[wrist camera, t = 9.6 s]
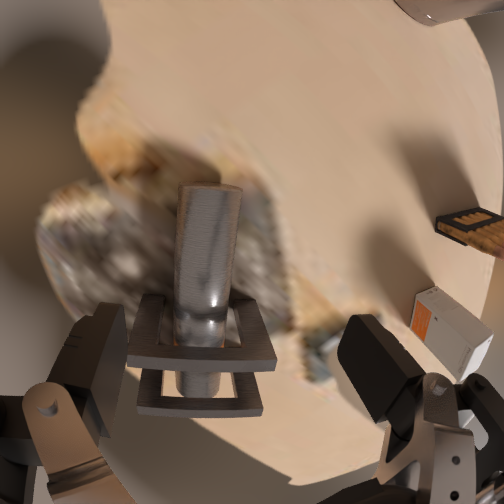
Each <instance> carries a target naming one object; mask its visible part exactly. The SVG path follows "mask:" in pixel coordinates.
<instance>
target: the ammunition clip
mask: <svg viewBox="0 0 504 504" xmlns="http://www.w3.org/2000/svg"><path fill="white" fill-rule="evenodd" d="M435 232H437V233H439V234H441V235H443V236H445V237H447V238H449V239H451V240H454V241H456V242H458V243H460V244H462V245H464V246H467V245H469V246H471V247H473V248H475V249H477V250H479V251H481V252H483V253H486V254H489V255H492V256H494V257H496V258H498V259H500V260H502V261H504V217H502V216H500V215H498V214H495V213H493V212H490V211H488V210H485V209H483V208H480V207H478V208H474V209H470V210H466V211H461V212H457V213H453V214H449V215H444V216H440V217H436V230H435Z"/></svg>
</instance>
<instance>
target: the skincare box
mask: <svg viewBox="0 0 504 504" xmlns="http://www.w3.org/2000/svg"><path fill="white" fill-rule="evenodd" d="M409 329H410V330H411V331H412V332H413V333H414V334H415V335H416V336H417V337H418V338H419V339H420V340H421V341H422V342H423V344H424V345H425V346H426V347H427V348H428V349H429V350H430V351H431V352H432V353H433V354H434V355H435V356H436V357H437V359H438V360H439V361H440V362H441V363H442V364H443V365H444V366H445V367H446V368H447V370H448V371H449V372H450V373H451V374H452V375H453V376H454V377H455V379H456V380H457V381H458V382H460V381H462V380H463V379H465V378H466V377H467V376H468V375H469V374H471V373H473V372H474V371H475V370H477V369H478V368H479V366H480V364H481V362H482V359H483V358H484V356H485V354H486V352H487V350H488V347H489V344H490V342H491V340H492V337H493V335H494V332H493V331H492V330H491V329H489V328H488V327H487V326H486V325H485V324H484V323H483V322H481V321H480V320H479V319H478V318H477V317H475V316H474V315H473V314H472V313H471V312H469V311H468V310H467V309H466V308H464V307H463V306H462V305H461V304H459V303H458V302H457V301H456V300H454V299H453V298H452V297H450V296H449V295H448V294H447V293H445V292H444V291H443V290H441V289H440V288H439V287H437V286H435V287H432V288H430V289H428V290H425V291H423V292H421V293H418V294H416V297H415V304H414V309H413V314H412V319H411V323H410V327H409Z"/></svg>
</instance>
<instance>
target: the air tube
mask: <svg viewBox="0 0 504 504" xmlns="http://www.w3.org/2000/svg"><path fill="white" fill-rule="evenodd" d="M242 192H243V189H242V188H239V187H236V186H232V185H227V184H221V183H212V182H182V183H179V193H178V206H177V220H176V237H175V259H174V346H192V347H224V342H225V330H226V321H227V312H228V303H229V295H230V286H231V278H232V270H233V262H234V254H235V246H236V238H237V230H238V222H239V215H240V207H241V199H242ZM175 376H176V388H177V390H178V391H179V393H180V394H181V395H182V396H184V397H190V398H212V397H214V396H215V395H216V394H217V393H218V391H219V386H220V376H221V372H188V371H175Z"/></svg>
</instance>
